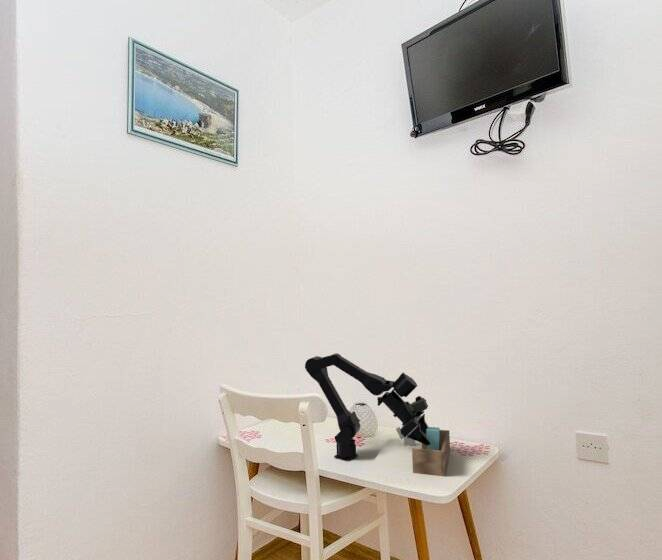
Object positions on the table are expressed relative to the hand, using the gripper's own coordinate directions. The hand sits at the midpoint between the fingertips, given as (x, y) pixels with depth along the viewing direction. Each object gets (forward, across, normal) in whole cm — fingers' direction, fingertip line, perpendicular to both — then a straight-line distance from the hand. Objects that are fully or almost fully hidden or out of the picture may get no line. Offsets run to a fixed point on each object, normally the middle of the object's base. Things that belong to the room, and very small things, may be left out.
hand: (430, 440), depth 145 cm
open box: (+7, 0, +6) cm, 9 cm away
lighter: (-2, +14, +14) cm, 20 cm away
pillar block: (+6, 0, +4) cm, 7 cm away
